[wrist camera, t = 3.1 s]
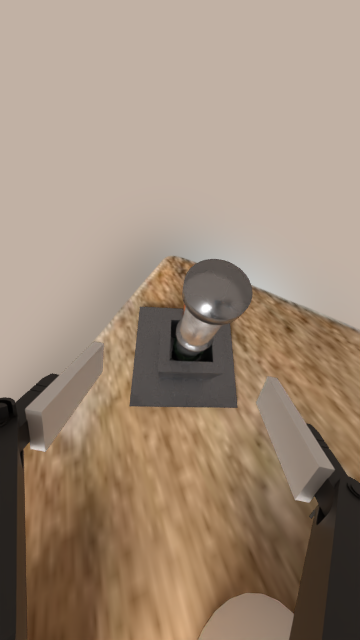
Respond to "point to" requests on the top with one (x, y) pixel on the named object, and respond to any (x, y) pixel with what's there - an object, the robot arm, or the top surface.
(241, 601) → the cylinder
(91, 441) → the top surface
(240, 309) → the silver mushroom-headed rod
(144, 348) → the square socket stand
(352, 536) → the robot arm
